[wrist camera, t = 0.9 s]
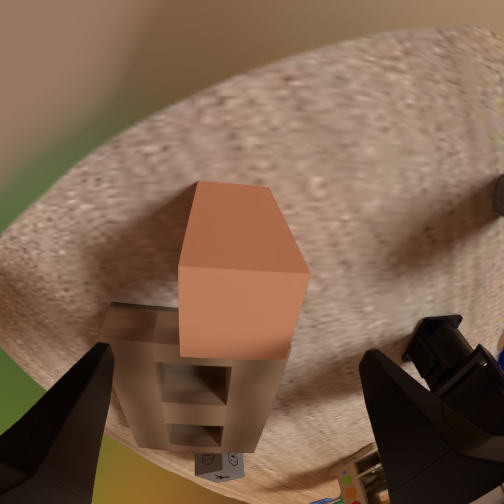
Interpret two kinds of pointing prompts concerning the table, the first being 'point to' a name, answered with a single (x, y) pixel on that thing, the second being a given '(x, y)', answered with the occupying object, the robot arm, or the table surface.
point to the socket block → (185, 386)
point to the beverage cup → (499, 196)
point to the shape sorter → (330, 501)
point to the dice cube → (219, 466)
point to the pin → (238, 276)
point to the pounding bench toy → (361, 477)
